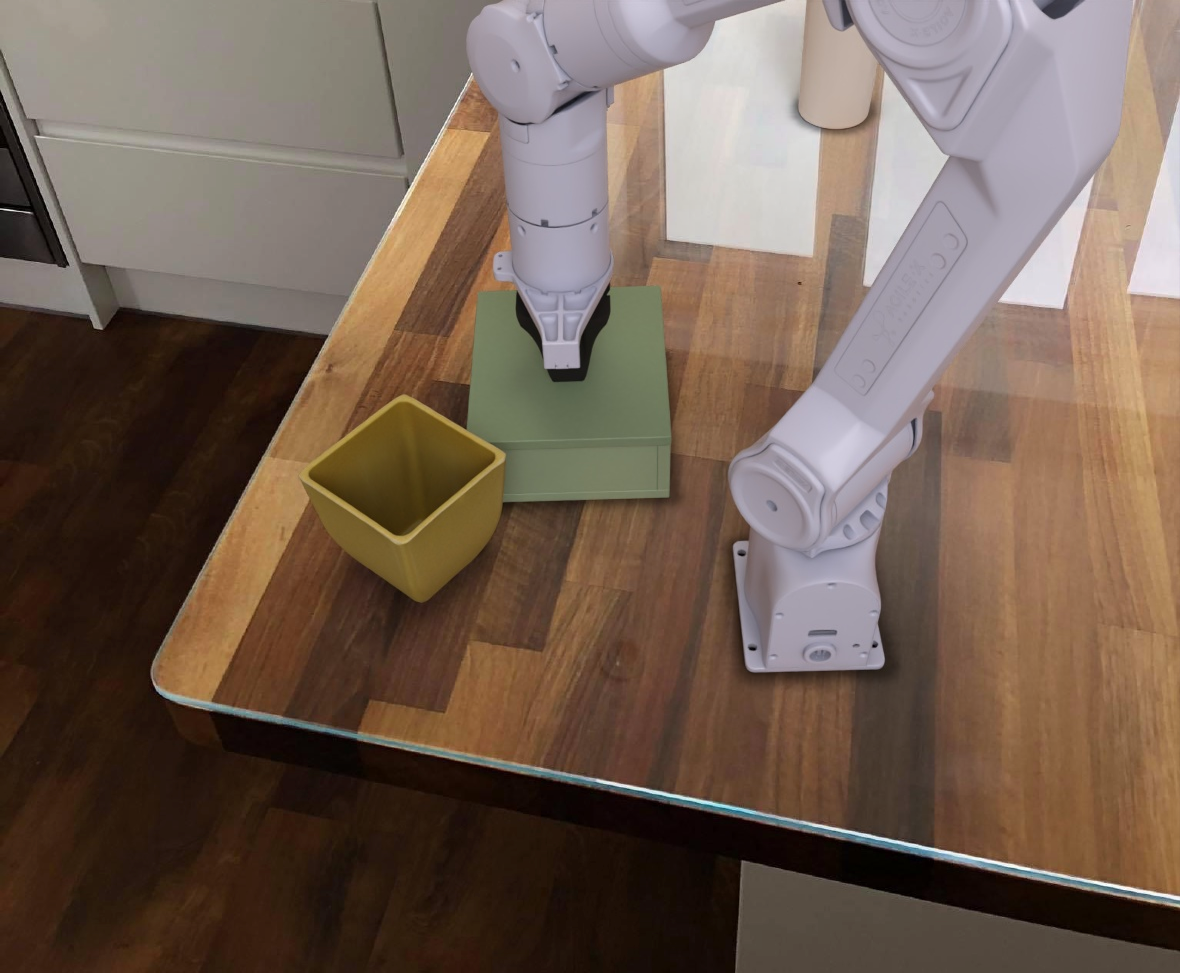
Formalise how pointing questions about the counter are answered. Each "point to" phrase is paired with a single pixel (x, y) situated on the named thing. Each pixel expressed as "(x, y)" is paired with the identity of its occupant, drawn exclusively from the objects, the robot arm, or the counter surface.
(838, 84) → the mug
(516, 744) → the counter surface
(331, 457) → the flower pot
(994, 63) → the robot arm
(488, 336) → the bread lid
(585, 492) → the bread box
